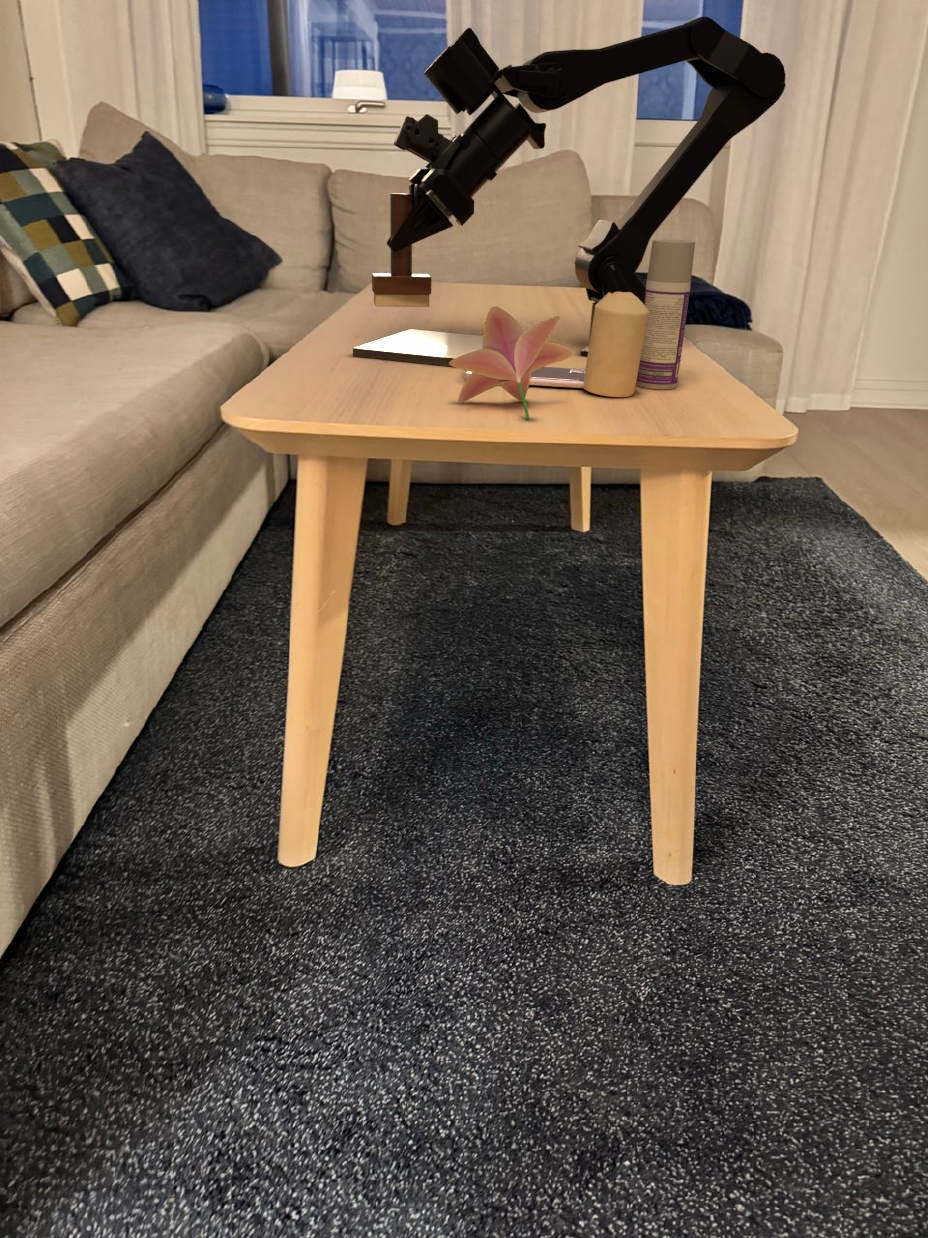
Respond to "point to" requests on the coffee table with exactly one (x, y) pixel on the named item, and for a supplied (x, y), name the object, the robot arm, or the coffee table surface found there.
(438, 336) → the panel
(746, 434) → the coffee table surface
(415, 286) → the brush
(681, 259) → the container
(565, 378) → the mobile phone
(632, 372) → the candle
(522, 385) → the lily
